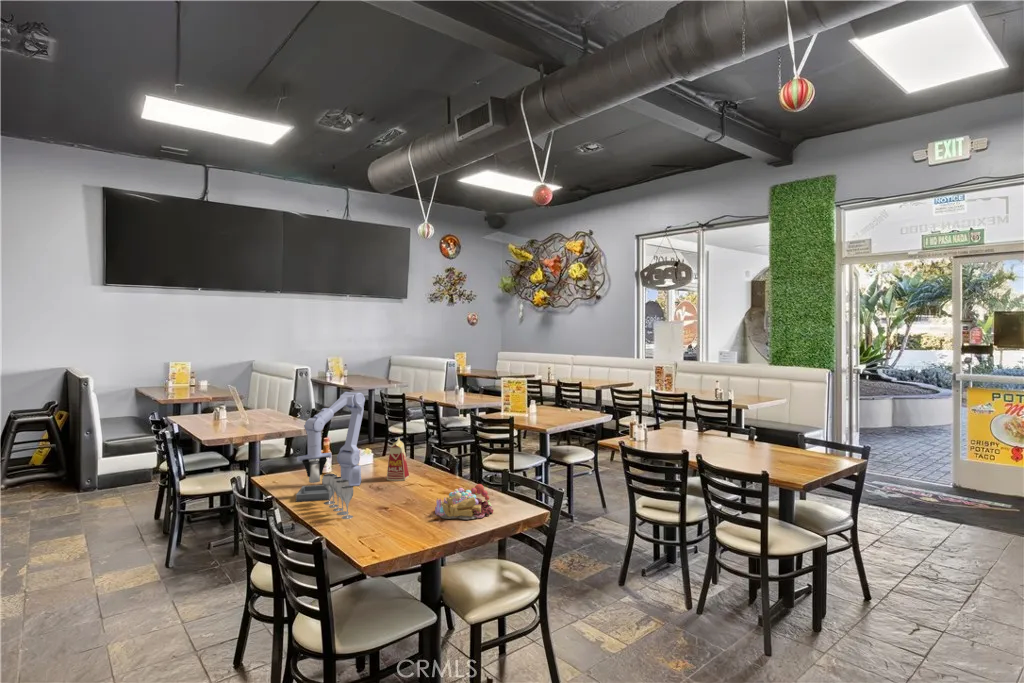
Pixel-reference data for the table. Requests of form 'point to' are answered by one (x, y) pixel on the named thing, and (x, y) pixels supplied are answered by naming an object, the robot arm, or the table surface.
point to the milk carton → (397, 463)
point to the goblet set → (338, 492)
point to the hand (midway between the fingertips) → (314, 475)
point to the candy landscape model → (464, 504)
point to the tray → (313, 493)
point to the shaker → (314, 471)
